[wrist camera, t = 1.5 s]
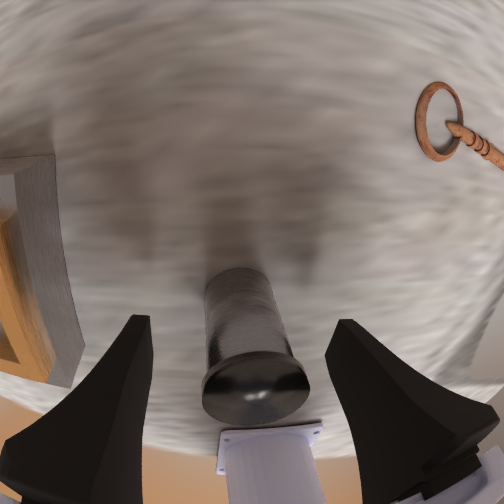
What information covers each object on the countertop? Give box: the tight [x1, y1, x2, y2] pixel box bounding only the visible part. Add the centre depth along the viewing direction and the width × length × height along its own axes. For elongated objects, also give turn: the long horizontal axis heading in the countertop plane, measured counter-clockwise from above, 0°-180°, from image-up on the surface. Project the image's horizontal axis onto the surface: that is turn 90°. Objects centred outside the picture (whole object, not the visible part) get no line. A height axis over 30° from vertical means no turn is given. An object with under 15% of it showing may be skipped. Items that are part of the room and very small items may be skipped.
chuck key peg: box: [202, 268, 310, 426], centre depth 11 cm, size 3×3×6 cm
